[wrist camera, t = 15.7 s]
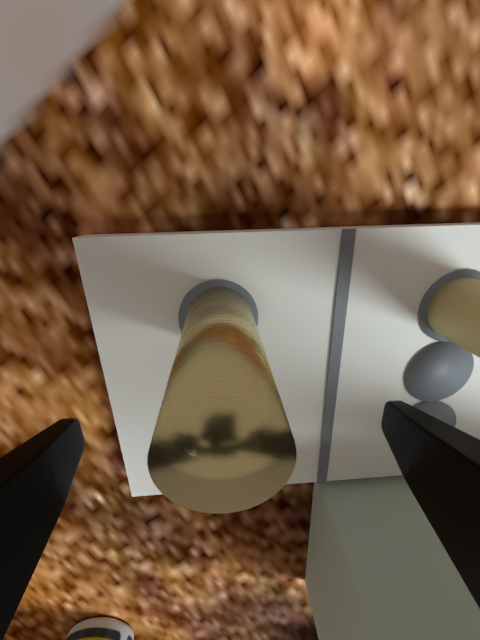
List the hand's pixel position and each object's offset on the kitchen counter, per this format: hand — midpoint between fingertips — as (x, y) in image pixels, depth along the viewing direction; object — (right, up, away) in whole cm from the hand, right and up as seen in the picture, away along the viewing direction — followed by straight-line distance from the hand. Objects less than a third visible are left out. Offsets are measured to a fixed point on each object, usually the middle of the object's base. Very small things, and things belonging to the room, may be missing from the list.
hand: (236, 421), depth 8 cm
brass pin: (-1, +3, +3) cm, 4 cm away
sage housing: (+8, -11, +11) cm, 17 cm away
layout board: (+4, +1, +6) cm, 7 cm away
